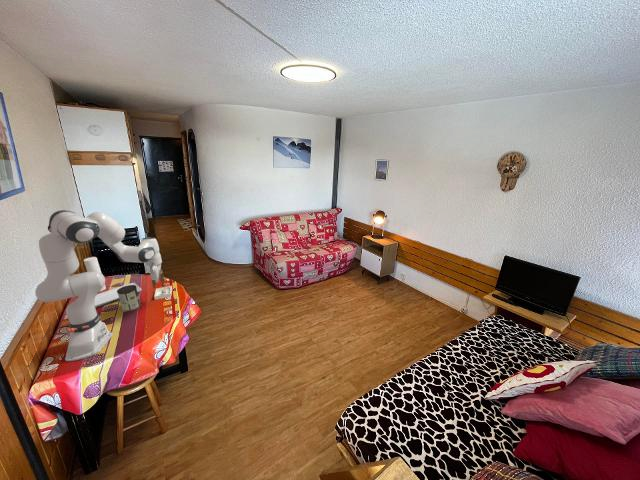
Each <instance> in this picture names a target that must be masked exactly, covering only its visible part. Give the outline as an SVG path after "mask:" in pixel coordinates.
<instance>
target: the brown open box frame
mask: <svg viewBox="0 0 640 480" xmlns="http://www.w3.org/2000/svg"><path fill="white" fill-rule="evenodd" d="M159 275H160V278H159V279H160V283H161V288H163V287H165V283H166V282H165V278H164V272H163V269H160V273H159ZM151 282H152V287H153V289H156V285H157V283H156V282H155V280H152V279H151Z"/></svg>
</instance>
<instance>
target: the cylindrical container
mask: <svg viewBox="0 0 640 480" xmlns="http://www.w3.org/2000/svg"><path fill="white" fill-rule="evenodd" d="M83 259H84V260H83V262H84V265H85V269H86V272H95V271H98V272H100V273H101V274H103V273H102V271H101V267H100V264H99V261H98V258H97V257H96V256H91V257H90V256H89V257H87V258H83ZM106 288H107V287H106V284H105V285H104V286H103V288H102V289H101V290H100V291H99V292H98V293H101V292H104V290H105V291H106Z"/></svg>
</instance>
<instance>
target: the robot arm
mask: <svg viewBox="0 0 640 480" xmlns="http://www.w3.org/2000/svg"><path fill="white" fill-rule="evenodd" d="M47 230H48V232H50V233H48V234H45V235H42V236H41V237H40V239H39V240H38V248H39V252H40V255H41V258H42V260H43V262H44V264H45V267H46V272H47V274H46V277H45V278H44V279H43V281H41V282H40V283H38V284H37V286H36V288H35V293H34V294H35V297H36V299H38V300H39V301H40V302H42V303H52V302H59V301H62V300H68V299H72V298H77V297H78V298H77V299H75V300H74V301H72V302H71V303H69V304H68V305H67V306H66V308H65V314H66V316H67V318H68V327H69V328H68V330H67V332H68V333H69V338H68V345H67V350H66V354H65V358H64V360H65V362H74V361H75V362H76V361H78V360H79V361H81V360H83V359H87V358H90V357H92V355H93V356H96V355H97V354H99V353H101V351H102V350H103V349H102V348H104V347H105V346H106V345H105V344H107V343H108V342H109V340H110V339H111V338H112V336H113V335H114V334H113V332H110V331H109V330H108V327H107V325H106V324H105V322H104V321H102V320H101V318H100V314H99V312H98V311H97V310H96V309H97V308H95V304H94V300H95V296H96V294H99V293H100V292H101V291H100V290H101V289H102V288H103V286H104V285H105V286H106V278H105V275H103V273H102V272H101V273H102V274H101V273H100V272H98V271H95V272H87V271H85V272H81V273H77V274H74V273H75V272H77V270H78V269H79V267H80V262H79V261H80V260H79V259H78V255H77V254H76V251H75V249H74V246H73V245H74V243H75V244H80V245H81V244H87V243H89V242H91V241H92V240H94V239H95V238H96V237H98V238H99V239H100V240H101V241H102V242H103V244H104V245H105V246H106V247H108V248H109V249H110V250H111V251H112V252H113V253H114V254H115V256H116V257H117V258H118V260H119V261H120V262H122V263H141V264H142V263H145V265H146V266H147V267H149V275H150V279H151V281H152V280H155V282H156V284H157V283H159V282H160V279H161V278H160V275H159V273H160V270H161V268H162V263H163V260H162V255H161V253H160V247H159V243H158V240H157V239H156V237H150V236H148V237H143V238H141V242H140V243H139V245H138V246H136V245H135V246H133V245H126V244H124V243H123V242H122V241H123V239H124V238H125V236H126V230H125V228H124V227H123V226H122V225H121V224H120V223H119V222H118V221H116V220H115V219H114V218H112V217H111V216H109V215H107V214H106V213H104V212H101V211H95V212H92V213H90V214H88V215H87V216H85V217H83V216H82V215H81V216H80V214H79V215H78V214H77V213H75V212H74V211H70V210H66V209H62V210H57V211H54V212H53V213H52V214H51V215H50V217H49V220H48V226H47ZM99 291H100V292H99Z"/></svg>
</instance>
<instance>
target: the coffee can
mask: <svg viewBox="0 0 640 480" xmlns="http://www.w3.org/2000/svg"><path fill="white" fill-rule="evenodd" d="M123 286H124V285H123ZM120 287H121V286H120ZM117 293H118V296H119V302H120V305H121V309H122V311H123V312H124V313H126V312H130V311H135V310H136V309H138V308H140V306H141V305H142V304H141V303H142V302H141V300H140V297H139V292H137V288H136V286H135V285H128V286H124V287H121V288H120V289H118V290H117Z"/></svg>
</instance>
